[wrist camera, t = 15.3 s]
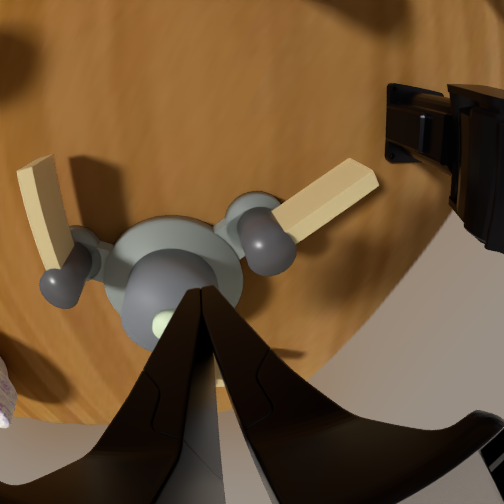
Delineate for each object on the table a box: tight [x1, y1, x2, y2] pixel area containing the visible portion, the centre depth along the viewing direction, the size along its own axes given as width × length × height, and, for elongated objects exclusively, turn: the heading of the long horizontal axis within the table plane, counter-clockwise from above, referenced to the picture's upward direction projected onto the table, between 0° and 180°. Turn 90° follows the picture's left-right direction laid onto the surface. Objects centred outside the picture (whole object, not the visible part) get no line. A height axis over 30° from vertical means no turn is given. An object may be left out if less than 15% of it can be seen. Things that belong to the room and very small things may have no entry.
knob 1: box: [17, 154, 92, 309], centre depth 15 cm, size 10×3×4 cm, turn 0°
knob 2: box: [237, 158, 379, 276], centre depth 18 cm, size 10×3×4 cm, turn 125°
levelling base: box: [69, 191, 281, 353], centre depth 21 cm, size 18×16×6 cm
